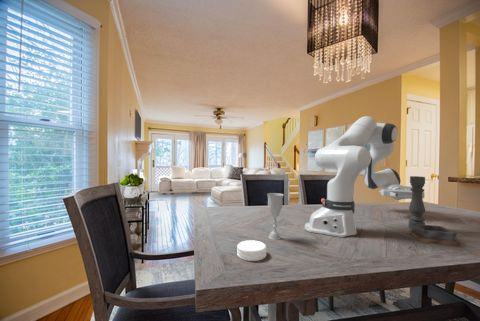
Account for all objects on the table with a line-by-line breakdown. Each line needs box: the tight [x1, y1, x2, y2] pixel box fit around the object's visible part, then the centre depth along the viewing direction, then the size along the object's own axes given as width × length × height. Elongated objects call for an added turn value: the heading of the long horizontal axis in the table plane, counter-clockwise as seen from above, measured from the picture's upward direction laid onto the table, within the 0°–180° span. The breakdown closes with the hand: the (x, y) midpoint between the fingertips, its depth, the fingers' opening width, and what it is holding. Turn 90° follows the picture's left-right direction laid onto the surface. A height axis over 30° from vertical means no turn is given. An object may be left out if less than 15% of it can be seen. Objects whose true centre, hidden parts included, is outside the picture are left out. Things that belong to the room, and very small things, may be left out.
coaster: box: [236, 239, 267, 262], centre depth 76 cm, size 10×10×4 cm
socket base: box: [409, 224, 461, 247], centre depth 93 cm, size 12×12×4 cm
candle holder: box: [408, 175, 426, 230], centre depth 108 cm, size 6×6×25 cm
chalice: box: [266, 192, 284, 241], centre depth 93 cm, size 7×7×18 cm
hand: (406, 195), depth 119 cm, fingers open, 8 cm apart
